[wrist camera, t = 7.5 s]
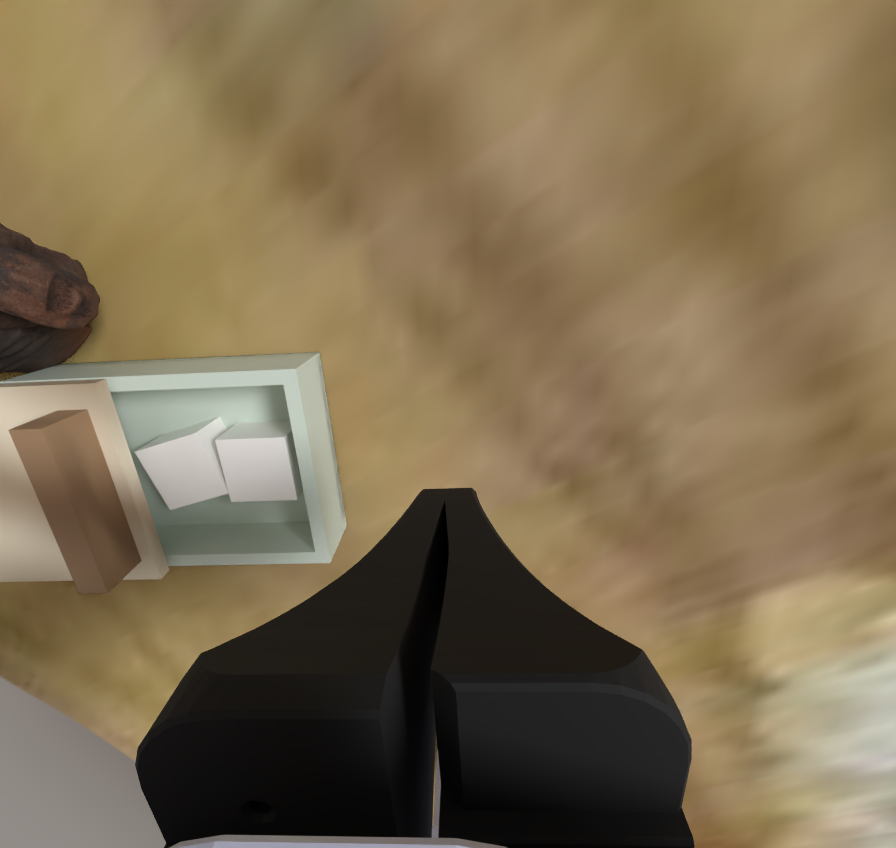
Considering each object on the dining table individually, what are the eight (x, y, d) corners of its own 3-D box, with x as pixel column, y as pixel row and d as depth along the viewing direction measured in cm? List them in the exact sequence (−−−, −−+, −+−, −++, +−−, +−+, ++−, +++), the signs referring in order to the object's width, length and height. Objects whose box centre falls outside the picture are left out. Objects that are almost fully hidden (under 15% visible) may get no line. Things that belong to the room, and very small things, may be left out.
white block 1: (249, 472, 22) (228, 493, 20) (194, 488, 22) (169, 510, 20) (219, 416, 21) (195, 433, 19) (163, 434, 21) (134, 452, 19)
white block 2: (311, 478, 22) (297, 500, 20) (250, 480, 22) (230, 502, 20) (300, 420, 21) (284, 437, 19) (237, 422, 21) (214, 439, 19)
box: (346, 525, 23) (330, 562, 21) (122, 530, 24) (77, 567, 21) (319, 352, 20) (295, 368, 17) (62, 363, 21) (-1, 381, 18)
